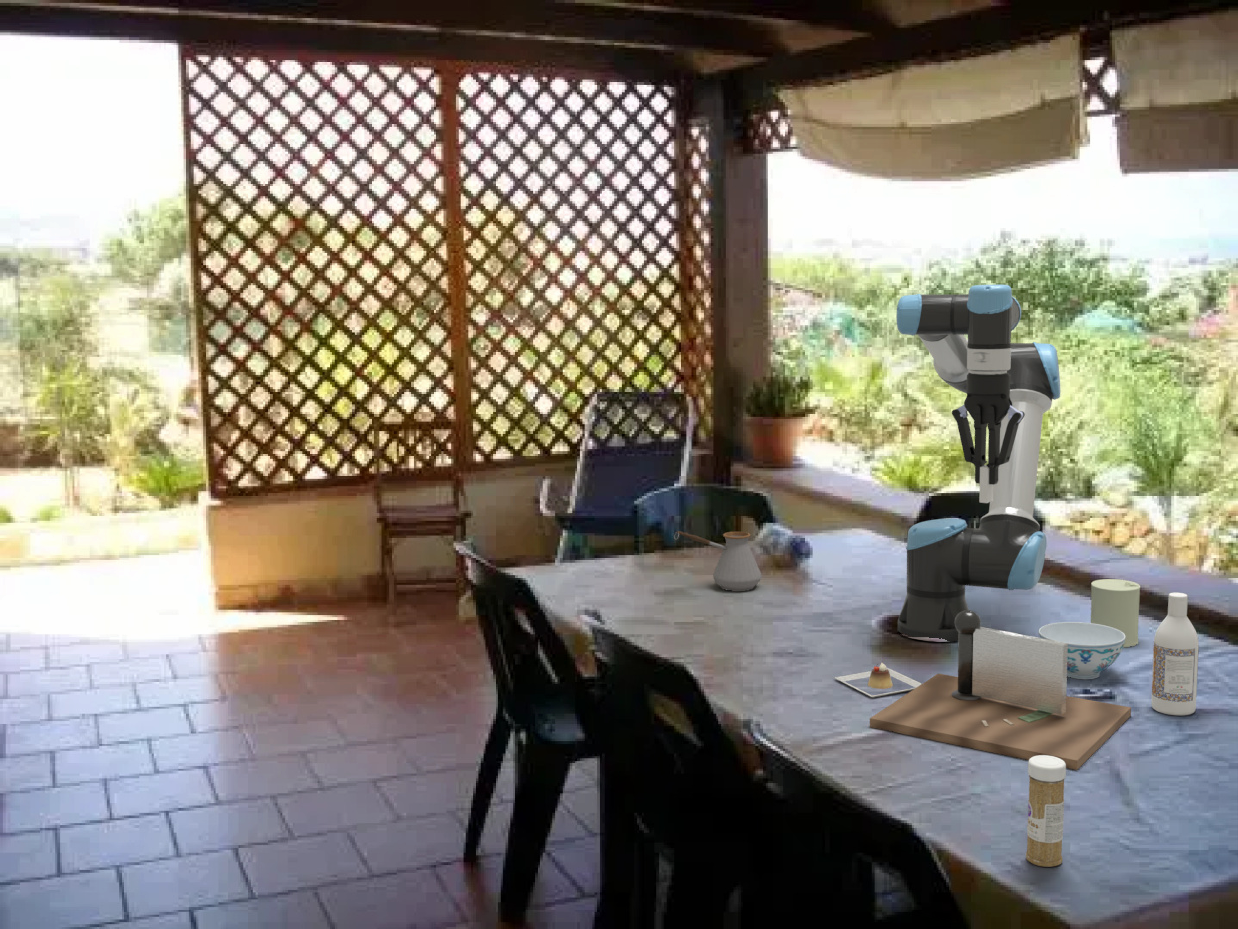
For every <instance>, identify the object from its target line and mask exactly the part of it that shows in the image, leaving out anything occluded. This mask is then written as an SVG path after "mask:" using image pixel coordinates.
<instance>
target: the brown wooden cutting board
mask: <svg viewBox="0 0 1238 929" xmlns="http://www.w3.org/2000/svg"><path fill="white" fill-rule="evenodd" d="M914 688H915V687H914ZM1131 716H1132V707H1131V706H1125V705H1118V704H1114V703H1108V702H1101V701H1097V700H1091V699H1085V698H1078V697H1073V696H1068V695H1066V712H1065V713H1064V714H1062V715H1060V714H1056V713H1051V712H1047V711H1043V710H1038V709H1034V708H1029V707H1025V706H1021V705H1016V704H1012V703H1008V702H1003V701H999V700H994V699H990V698H986V697H981V696H977V695H973V694H962V693H959V692H958V676H955V675H950V674H943V673H936V674H935V675H933V676H932V677H930V678H929V679H928V680H926V681H924V682H923V683H922V684H921V685H920V686H918V687H917V688H915V689H914V690H912V691H908V693H906V694H904V695H902V696H901V697H899V698H898V699H897V700H895V701H894V702H892V703H891V704H889V705H888V706H886V707H885V708H883V709H882V710H880V711H879V712H877V713H875V714H873V715H872V716H871V717H870V718H869V728H872V729H877V730H883V731H887V730H889V731H888V732H892V731H893V733H897V734H902V735H906V736H912V737H916V738H921V739H925V740H926V739H927V740H931V741H935V742H941V743H945V744H950V745H955V746H961V747H965V748H969V749H974V750H979V751H984V752H988V753H994V754H998V755H1003V756H1007V757H1012V758H1016V759H1017V758H1018V759H1021V760H1027V761H1029V759H1030V758H1032V757H1034V756H1038V755H1048V756H1054V757H1057V758H1060V759H1062V760H1063V761H1064V762H1065V764H1066V769H1068V770H1069V769H1070V770H1074V771H1075V770H1076V771H1078V770H1079V768H1081V767H1082V766H1083V765H1084V764H1085V763H1086V761H1088V760H1089V759H1090V757H1092V756H1093V755H1094V754H1095V753H1096V752H1097V751H1098V750H1099V749H1100V748H1101V747H1102V745H1104V743H1106V742H1107V741H1108V739H1110V738H1111V736H1113V735H1114V734H1115V733H1116V731H1118V730H1119V729H1120V728H1121V727H1122V725H1124V724H1125V723H1126V722H1127V720H1129V719H1130V718H1131Z"/></svg>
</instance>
